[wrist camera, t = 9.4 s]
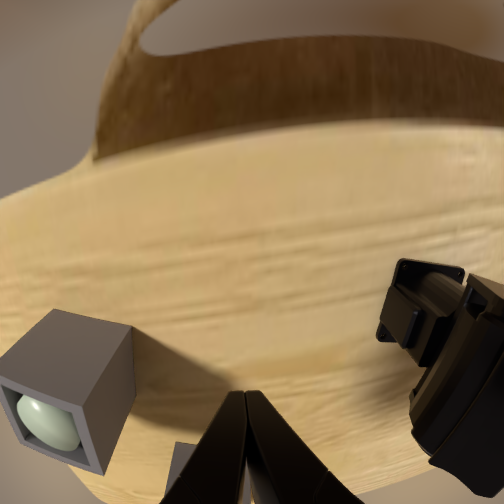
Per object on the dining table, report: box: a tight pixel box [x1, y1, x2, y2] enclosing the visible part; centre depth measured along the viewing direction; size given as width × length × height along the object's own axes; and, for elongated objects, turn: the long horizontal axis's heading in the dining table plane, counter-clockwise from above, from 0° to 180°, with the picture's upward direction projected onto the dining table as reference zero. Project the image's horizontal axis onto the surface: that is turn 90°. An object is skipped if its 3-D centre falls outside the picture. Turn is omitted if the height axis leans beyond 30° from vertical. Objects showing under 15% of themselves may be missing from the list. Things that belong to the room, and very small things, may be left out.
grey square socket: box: [0, 309, 136, 476], centre depth 18 cm, size 7×7×9 cm
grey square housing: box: [164, 442, 251, 504], centre depth 22 cm, size 7×7×9 cm
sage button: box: [17, 395, 81, 451], centre depth 15 cm, size 5×5×2 cm
